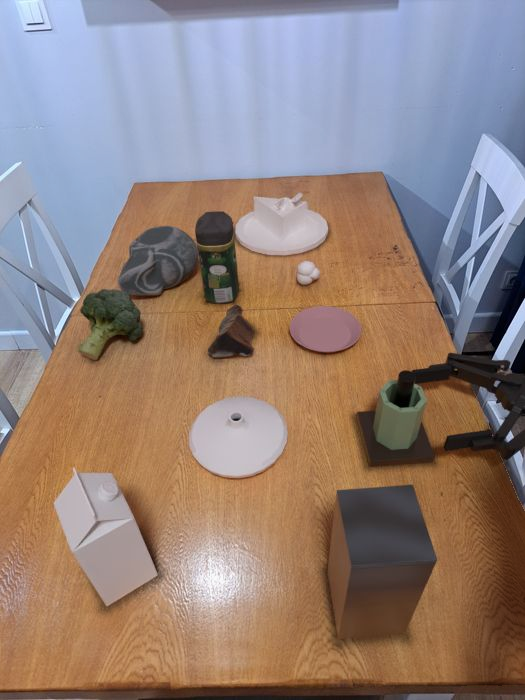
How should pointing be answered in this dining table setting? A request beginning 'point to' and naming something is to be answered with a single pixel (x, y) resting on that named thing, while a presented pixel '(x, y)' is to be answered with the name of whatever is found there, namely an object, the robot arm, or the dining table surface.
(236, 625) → the dining table surface
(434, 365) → the robot arm
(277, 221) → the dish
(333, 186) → the dining table surface
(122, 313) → the vegetable
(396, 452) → the peg stand
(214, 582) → the dining table surface
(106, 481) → the milk carton
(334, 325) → the plate
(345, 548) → the stand
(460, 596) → the dining table surface
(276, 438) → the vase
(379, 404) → the green octagonal tube
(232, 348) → the stone
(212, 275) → the coffee jar
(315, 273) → the microfossil shell
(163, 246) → the grey swirled rock
